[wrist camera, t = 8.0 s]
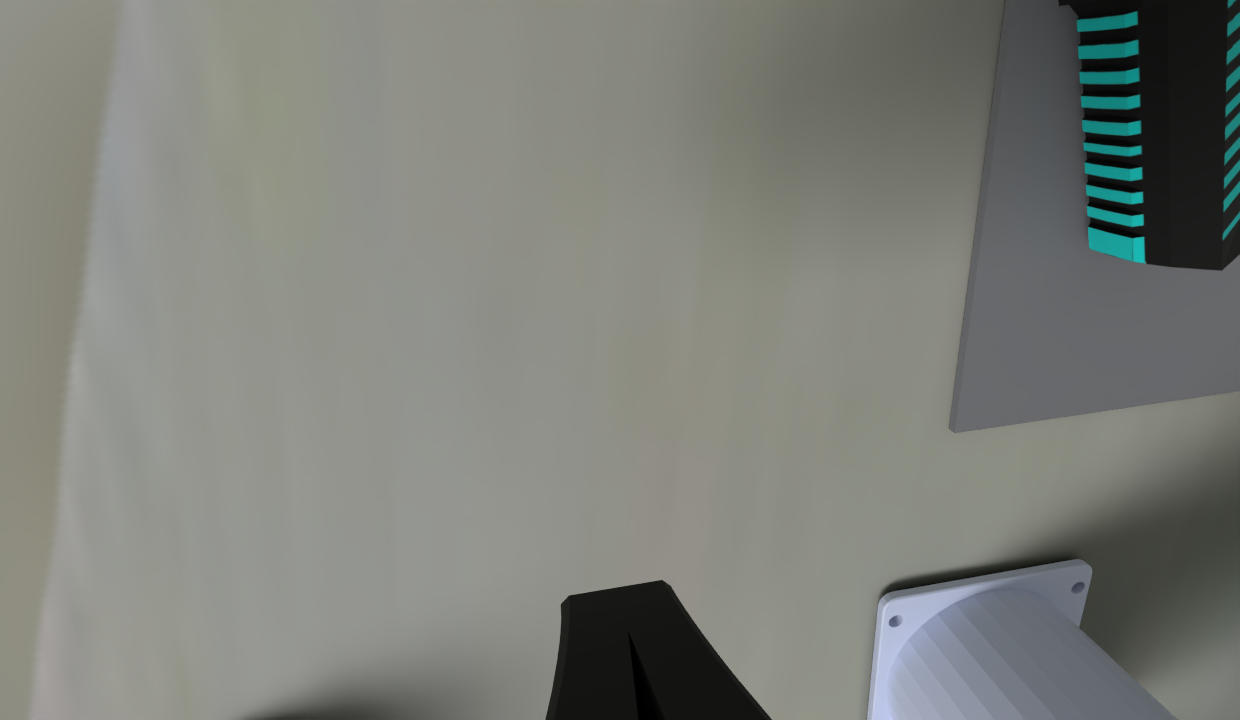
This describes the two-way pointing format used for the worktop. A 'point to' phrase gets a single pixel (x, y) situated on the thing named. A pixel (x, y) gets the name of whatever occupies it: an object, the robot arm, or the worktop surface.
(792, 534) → the worktop surface
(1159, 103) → the toy gun
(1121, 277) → the mat
